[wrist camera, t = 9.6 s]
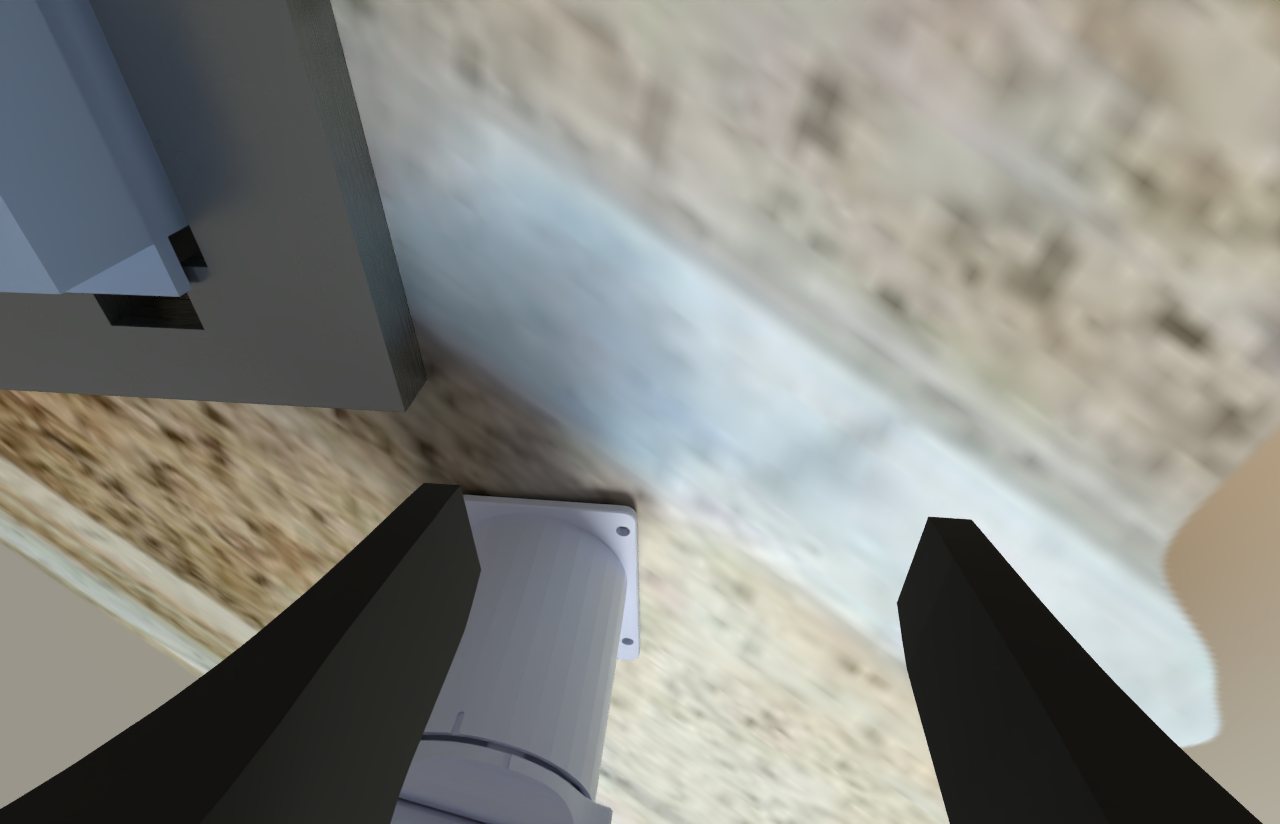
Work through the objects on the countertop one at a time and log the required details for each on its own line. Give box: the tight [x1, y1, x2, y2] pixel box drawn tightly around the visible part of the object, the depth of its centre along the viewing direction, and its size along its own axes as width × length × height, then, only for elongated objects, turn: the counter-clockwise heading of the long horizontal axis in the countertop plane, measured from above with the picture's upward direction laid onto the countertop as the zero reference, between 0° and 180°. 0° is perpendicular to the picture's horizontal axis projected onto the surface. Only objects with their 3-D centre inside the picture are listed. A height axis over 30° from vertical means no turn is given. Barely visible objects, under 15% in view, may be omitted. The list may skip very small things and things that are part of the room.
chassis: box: [0, 0, 427, 412], centre depth 16 cm, size 16×14×2 cm
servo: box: [0, 0, 200, 297], centre depth 15 cm, size 9×4×6 cm, turn 1°
